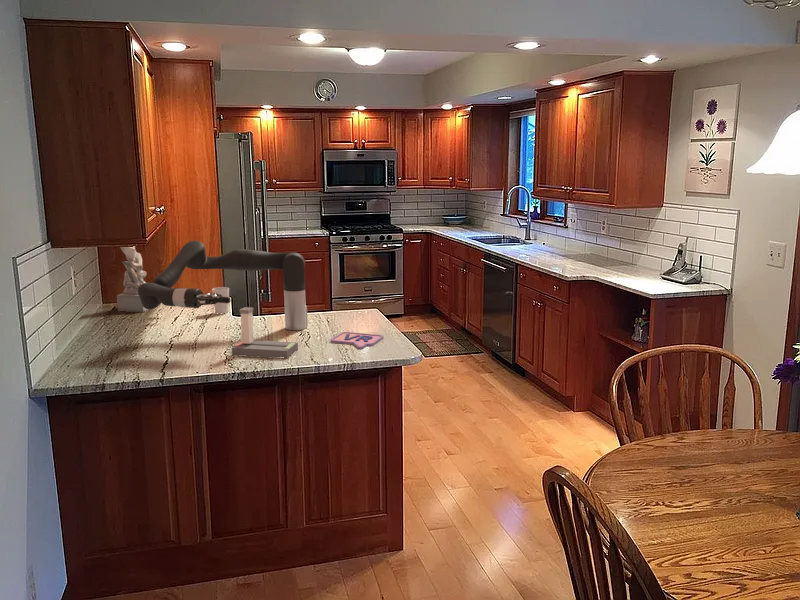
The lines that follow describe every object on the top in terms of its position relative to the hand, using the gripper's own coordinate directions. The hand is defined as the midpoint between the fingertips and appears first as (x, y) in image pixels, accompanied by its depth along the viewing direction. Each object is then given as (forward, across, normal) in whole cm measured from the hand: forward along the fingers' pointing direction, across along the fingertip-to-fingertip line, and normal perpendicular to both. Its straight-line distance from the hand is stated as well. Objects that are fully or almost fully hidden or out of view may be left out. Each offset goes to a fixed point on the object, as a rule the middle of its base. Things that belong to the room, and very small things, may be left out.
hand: (229, 300), depth 255 cm
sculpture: (-79, -62, -21) cm, 102 cm away
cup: (-34, -62, -20) cm, 73 cm away
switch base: (+14, -1, -20) cm, 24 cm away
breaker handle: (+7, -1, -16) cm, 18 cm away
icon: (+43, -24, -20) cm, 53 cm away
